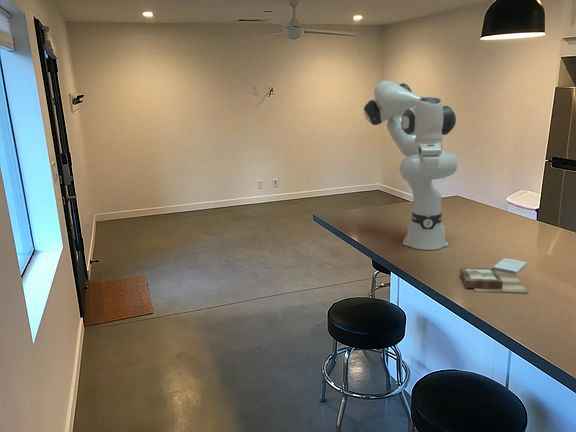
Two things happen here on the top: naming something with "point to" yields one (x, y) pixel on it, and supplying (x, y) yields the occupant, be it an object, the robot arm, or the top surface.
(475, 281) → the walnut picture frame
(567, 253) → the top surface
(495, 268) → the external hard drive
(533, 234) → the top surface
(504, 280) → the beige square tray
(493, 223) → the top surface
